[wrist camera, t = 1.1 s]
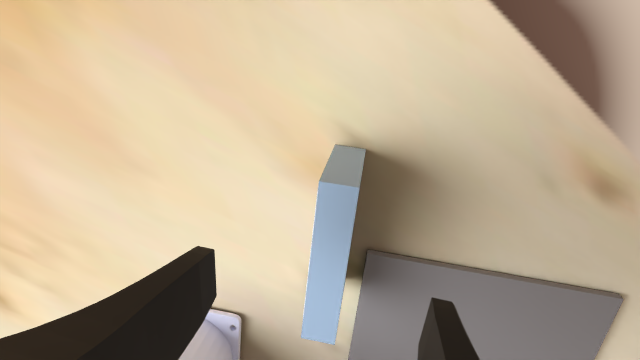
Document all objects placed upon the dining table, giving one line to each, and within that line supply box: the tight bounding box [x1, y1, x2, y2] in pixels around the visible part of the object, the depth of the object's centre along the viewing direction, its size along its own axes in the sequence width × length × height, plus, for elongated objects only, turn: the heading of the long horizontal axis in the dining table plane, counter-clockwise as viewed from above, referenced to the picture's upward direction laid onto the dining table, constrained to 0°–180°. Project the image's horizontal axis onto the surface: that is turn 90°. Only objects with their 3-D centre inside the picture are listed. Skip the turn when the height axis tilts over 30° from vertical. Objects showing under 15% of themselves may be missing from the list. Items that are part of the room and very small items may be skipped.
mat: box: [348, 250, 624, 360], centre depth 26 cm, size 10×15×1 cm, turn 84°
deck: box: [301, 145, 366, 345], centre depth 22 cm, size 9×2×6 cm, turn 174°
